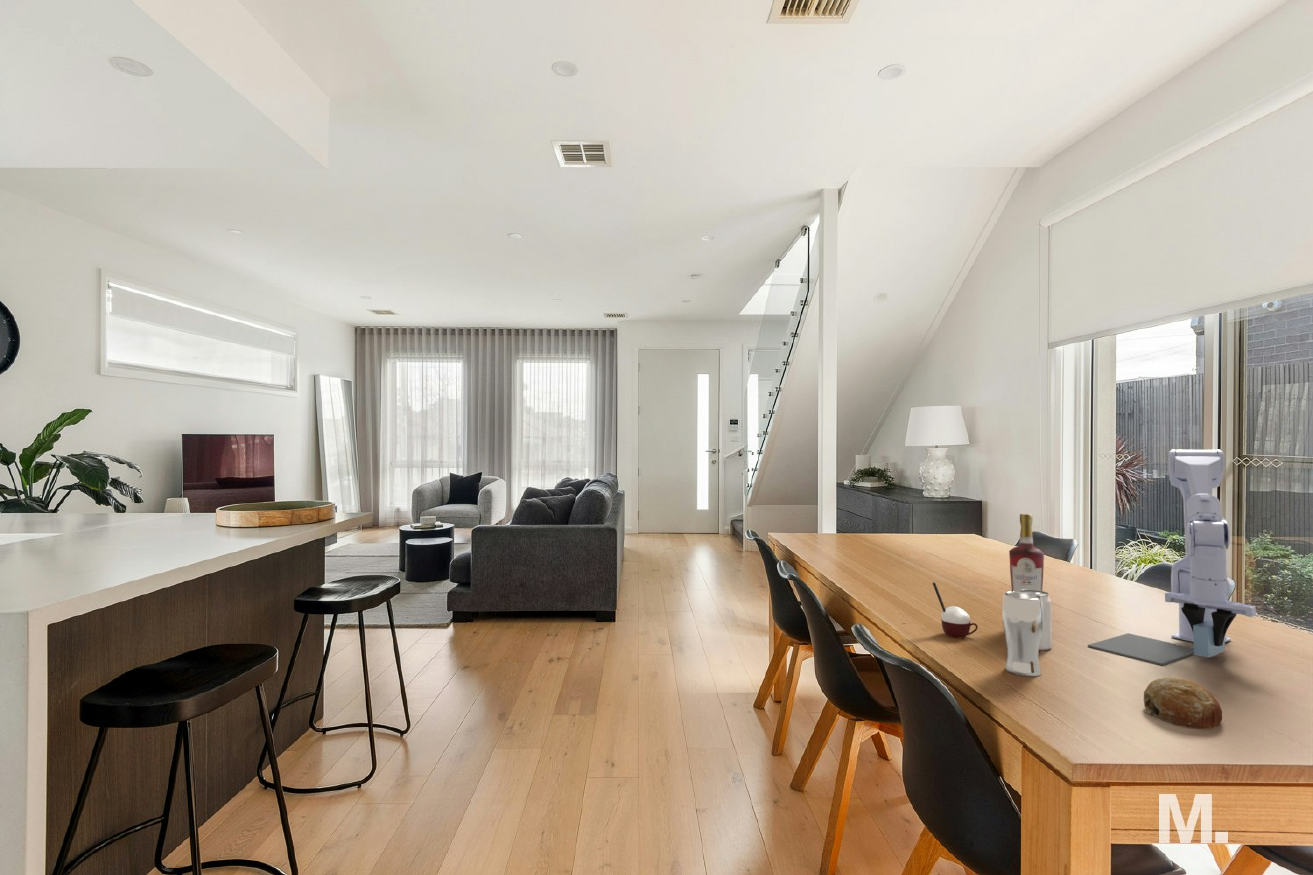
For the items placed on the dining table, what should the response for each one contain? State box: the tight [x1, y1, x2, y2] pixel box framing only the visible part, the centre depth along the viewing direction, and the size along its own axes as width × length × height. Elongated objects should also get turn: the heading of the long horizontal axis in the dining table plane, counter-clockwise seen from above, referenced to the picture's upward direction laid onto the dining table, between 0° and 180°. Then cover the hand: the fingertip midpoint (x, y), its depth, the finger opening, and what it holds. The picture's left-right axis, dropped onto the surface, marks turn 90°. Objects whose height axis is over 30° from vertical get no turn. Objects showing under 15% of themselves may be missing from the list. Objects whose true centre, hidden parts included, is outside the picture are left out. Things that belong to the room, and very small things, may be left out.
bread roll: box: [1143, 677, 1223, 730], centre depth 104 cm, size 10×10×8 cm
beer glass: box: [1002, 591, 1043, 678], centre depth 125 cm, size 7×7×15 cm
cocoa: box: [932, 580, 978, 639], centre depth 149 cm, size 10×6×12 cm, turn 41°
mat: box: [1087, 632, 1194, 666], centre depth 139 cm, size 18×14×1 cm
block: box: [1193, 620, 1226, 658], centre depth 132 cm, size 8×2×6 cm, turn 120°
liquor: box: [1008, 513, 1045, 592], centre depth 154 cm, size 7×7×28 cm
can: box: [1020, 590, 1052, 651], centre depth 141 cm, size 6×6×12 cm
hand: (1208, 643), depth 132 cm, fingers closed on block, 3 cm apart
